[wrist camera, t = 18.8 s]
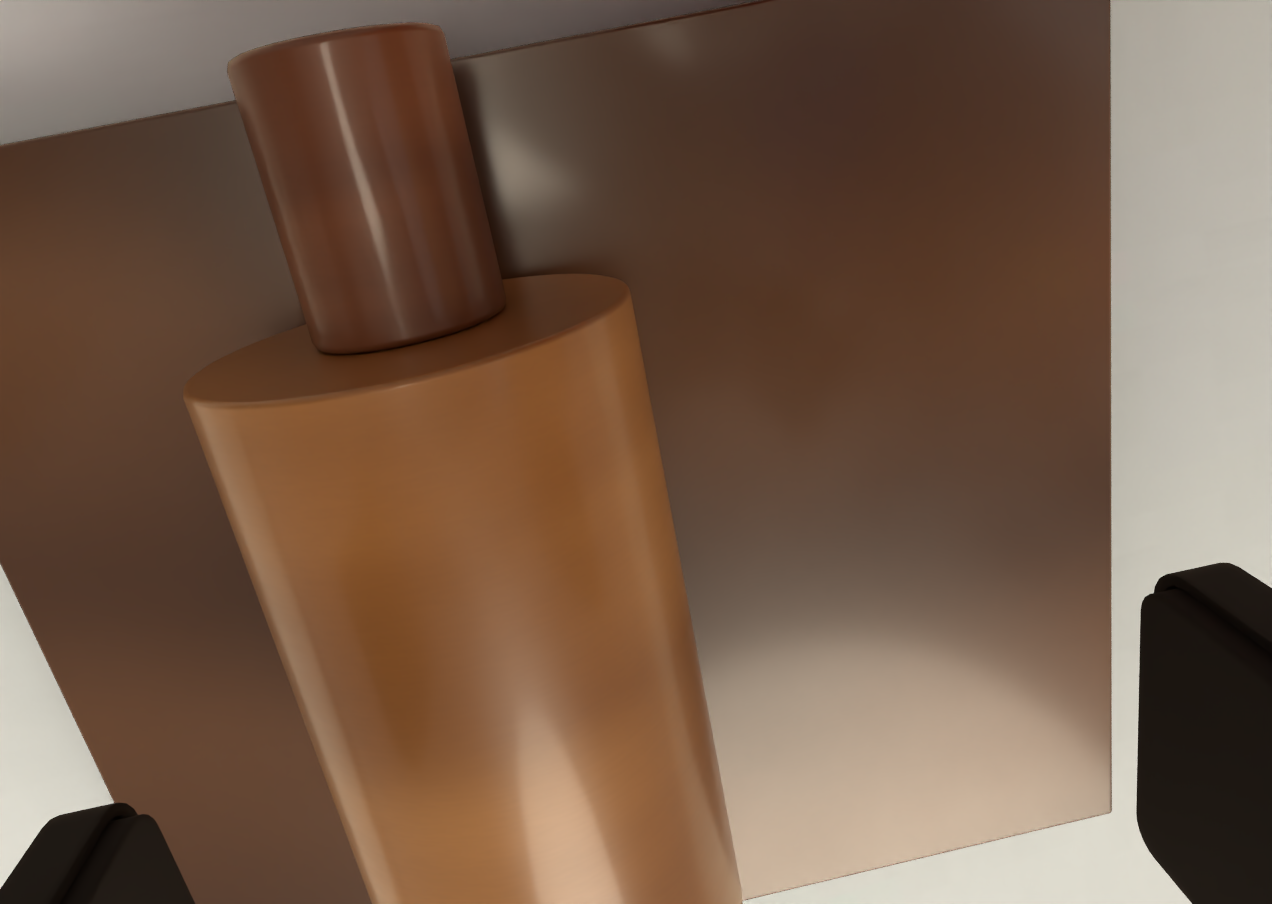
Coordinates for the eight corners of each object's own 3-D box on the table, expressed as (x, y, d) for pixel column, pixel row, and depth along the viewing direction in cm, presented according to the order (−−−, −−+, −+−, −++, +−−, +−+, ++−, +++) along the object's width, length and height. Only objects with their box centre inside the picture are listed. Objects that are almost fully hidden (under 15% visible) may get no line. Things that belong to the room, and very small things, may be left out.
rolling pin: (349, 72, 13) (-38, 108, 9) (663, -14, 10) (307, -17, 6) (572, 892, 18) (390, 1143, 14) (817, 980, 15) (676, 1317, 11)
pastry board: (-142, 177, 12) (-186, 180, 11) (1078, -57, 13) (1111, -68, 12) (232, 988, 17) (219, 1027, 17) (1088, 785, 18) (1112, 813, 17)
